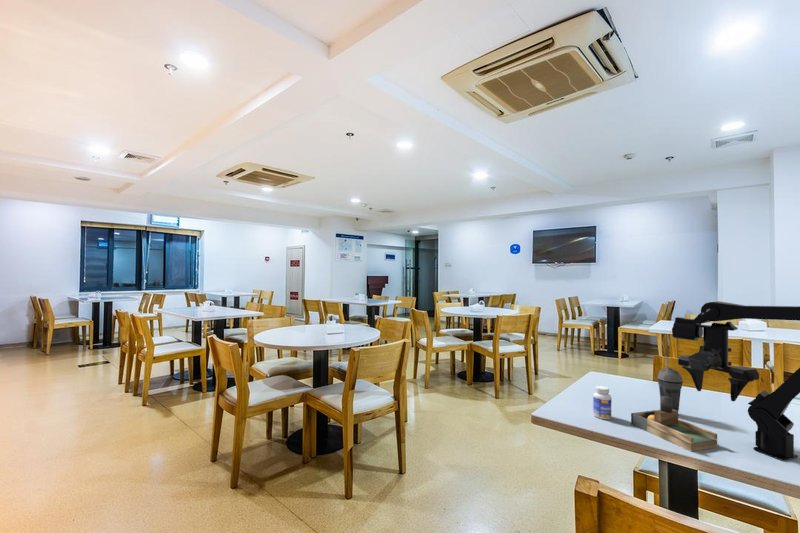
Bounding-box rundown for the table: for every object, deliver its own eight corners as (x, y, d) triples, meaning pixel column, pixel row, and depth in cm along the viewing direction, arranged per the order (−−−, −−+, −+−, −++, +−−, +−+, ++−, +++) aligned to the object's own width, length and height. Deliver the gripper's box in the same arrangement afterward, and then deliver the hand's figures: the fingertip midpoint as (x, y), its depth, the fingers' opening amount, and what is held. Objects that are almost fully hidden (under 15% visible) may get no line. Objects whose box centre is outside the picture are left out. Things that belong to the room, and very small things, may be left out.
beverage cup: (687, 418, 123) (687, 358, 124) (663, 416, 125) (663, 357, 125) (676, 410, 130) (676, 354, 131) (653, 409, 132) (653, 352, 132)
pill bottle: (601, 420, 121) (602, 390, 121) (589, 414, 126) (589, 385, 126) (615, 418, 123) (615, 389, 123) (602, 412, 128) (602, 384, 128)
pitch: (717, 446, 103) (717, 433, 103) (690, 451, 101) (690, 438, 101) (671, 427, 116) (671, 416, 116) (646, 431, 113) (646, 419, 113)
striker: (679, 424, 112) (679, 398, 112) (662, 427, 110) (662, 400, 110) (670, 420, 115) (670, 395, 115) (652, 423, 113) (652, 396, 113)
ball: (650, 417, 119) (657, 428, 117) (642, 418, 118) (649, 429, 116) (658, 412, 117) (665, 423, 114) (649, 413, 116) (657, 424, 113)
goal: (671, 427, 116) (671, 416, 116) (646, 431, 113) (646, 419, 113) (654, 420, 121) (655, 410, 121) (631, 424, 118) (631, 413, 118)
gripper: (664, 339, 117) (664, 388, 117) (732, 351, 99) (732, 409, 99) (690, 337, 120) (690, 385, 120) (760, 349, 102) (760, 406, 102)
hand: (715, 395), depth 110 cm, fingers open, 9 cm apart
